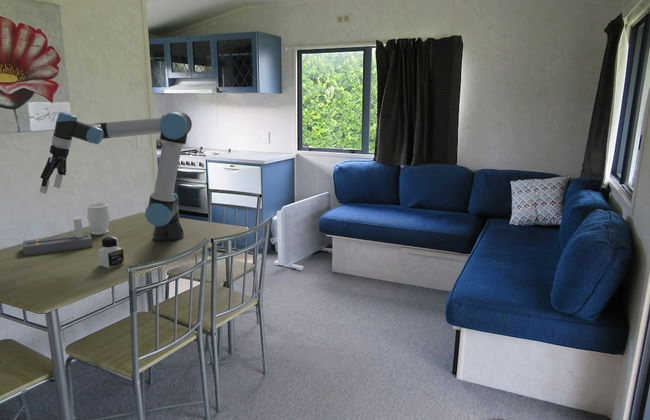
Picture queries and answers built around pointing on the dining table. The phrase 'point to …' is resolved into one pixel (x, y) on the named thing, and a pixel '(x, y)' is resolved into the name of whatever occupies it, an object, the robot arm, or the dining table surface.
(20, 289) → the dining table surface
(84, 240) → the slider console
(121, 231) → the dining table surface
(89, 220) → the jar
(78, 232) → the fader tab
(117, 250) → the medicine bottle
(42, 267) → the dining table surface
